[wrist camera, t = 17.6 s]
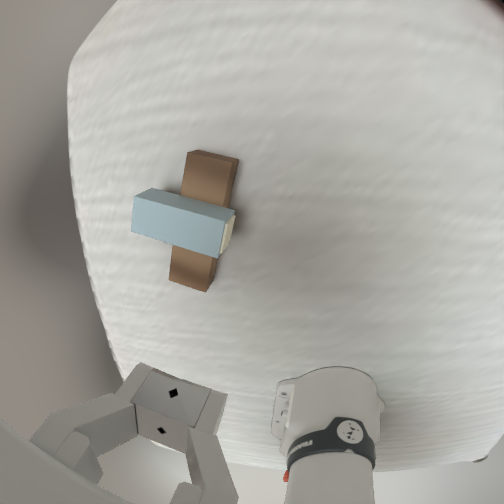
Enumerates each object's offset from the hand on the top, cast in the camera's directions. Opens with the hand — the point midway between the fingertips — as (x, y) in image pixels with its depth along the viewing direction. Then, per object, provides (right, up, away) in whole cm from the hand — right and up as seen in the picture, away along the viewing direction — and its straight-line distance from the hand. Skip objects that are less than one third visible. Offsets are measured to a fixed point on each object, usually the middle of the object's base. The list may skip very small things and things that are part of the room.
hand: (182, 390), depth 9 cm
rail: (-3, +8, +28) cm, 30 cm away
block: (-10, +9, +24) cm, 27 cm away
